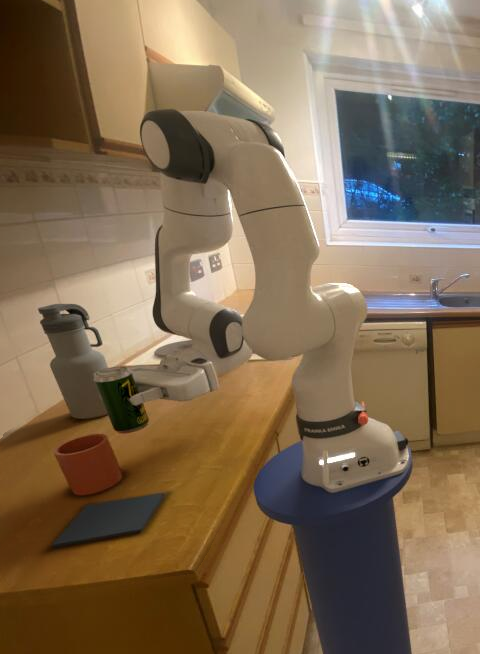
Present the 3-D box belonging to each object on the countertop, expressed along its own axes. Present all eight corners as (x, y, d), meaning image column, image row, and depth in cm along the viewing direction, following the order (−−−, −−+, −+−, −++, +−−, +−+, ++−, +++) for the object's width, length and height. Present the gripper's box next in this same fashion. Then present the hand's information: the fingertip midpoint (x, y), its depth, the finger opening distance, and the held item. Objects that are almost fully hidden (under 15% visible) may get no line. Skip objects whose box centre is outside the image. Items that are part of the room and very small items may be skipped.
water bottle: (96, 401, 117) (55, 300, 106) (133, 401, 117) (96, 300, 106) (60, 420, 108) (12, 311, 97) (100, 420, 108) (56, 311, 97)
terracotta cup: (129, 469, 89) (114, 431, 86) (111, 491, 83) (94, 451, 79) (85, 475, 87) (68, 437, 84) (63, 498, 81) (43, 458, 77)
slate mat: (165, 495, 82) (164, 492, 82) (141, 532, 73) (140, 529, 73) (87, 507, 79) (86, 504, 78) (52, 548, 70) (51, 545, 70)
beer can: (110, 436, 82) (86, 378, 77) (120, 423, 86) (98, 368, 82) (145, 430, 84) (124, 374, 79) (153, 418, 88) (133, 364, 84)
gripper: (141, 354, 95) (68, 379, 83) (217, 362, 91) (153, 390, 78) (150, 380, 98) (81, 408, 85) (225, 389, 93) (164, 420, 81)
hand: (116, 399), depth 82 cm, fingers closed on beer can, 5 cm apart
